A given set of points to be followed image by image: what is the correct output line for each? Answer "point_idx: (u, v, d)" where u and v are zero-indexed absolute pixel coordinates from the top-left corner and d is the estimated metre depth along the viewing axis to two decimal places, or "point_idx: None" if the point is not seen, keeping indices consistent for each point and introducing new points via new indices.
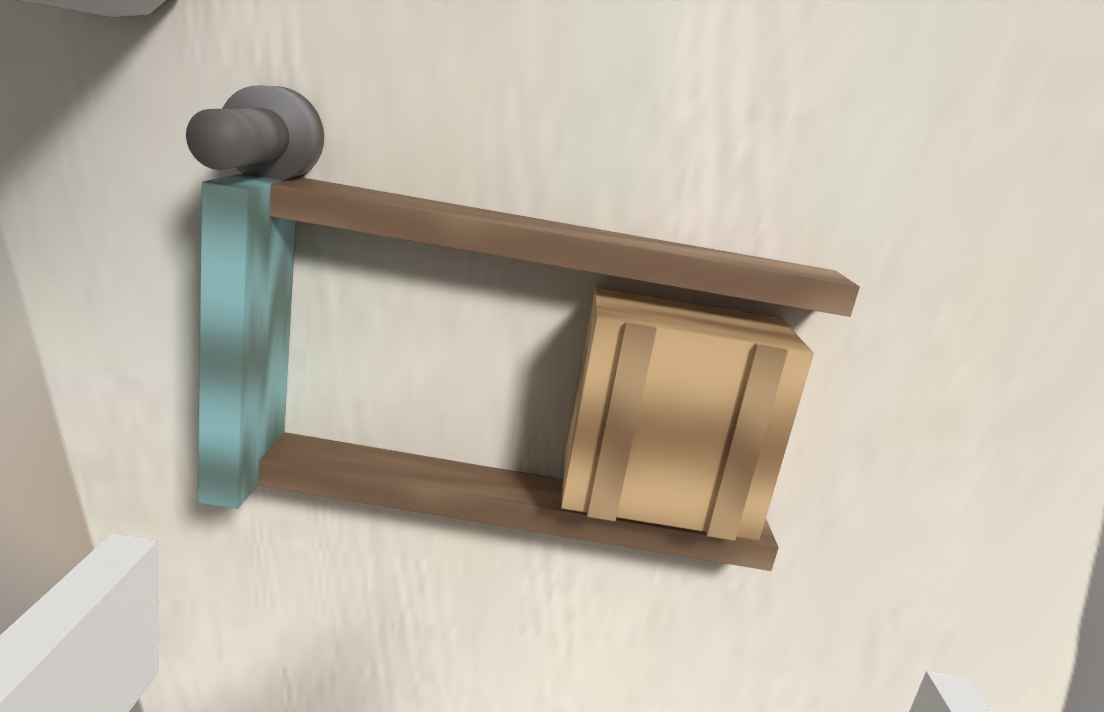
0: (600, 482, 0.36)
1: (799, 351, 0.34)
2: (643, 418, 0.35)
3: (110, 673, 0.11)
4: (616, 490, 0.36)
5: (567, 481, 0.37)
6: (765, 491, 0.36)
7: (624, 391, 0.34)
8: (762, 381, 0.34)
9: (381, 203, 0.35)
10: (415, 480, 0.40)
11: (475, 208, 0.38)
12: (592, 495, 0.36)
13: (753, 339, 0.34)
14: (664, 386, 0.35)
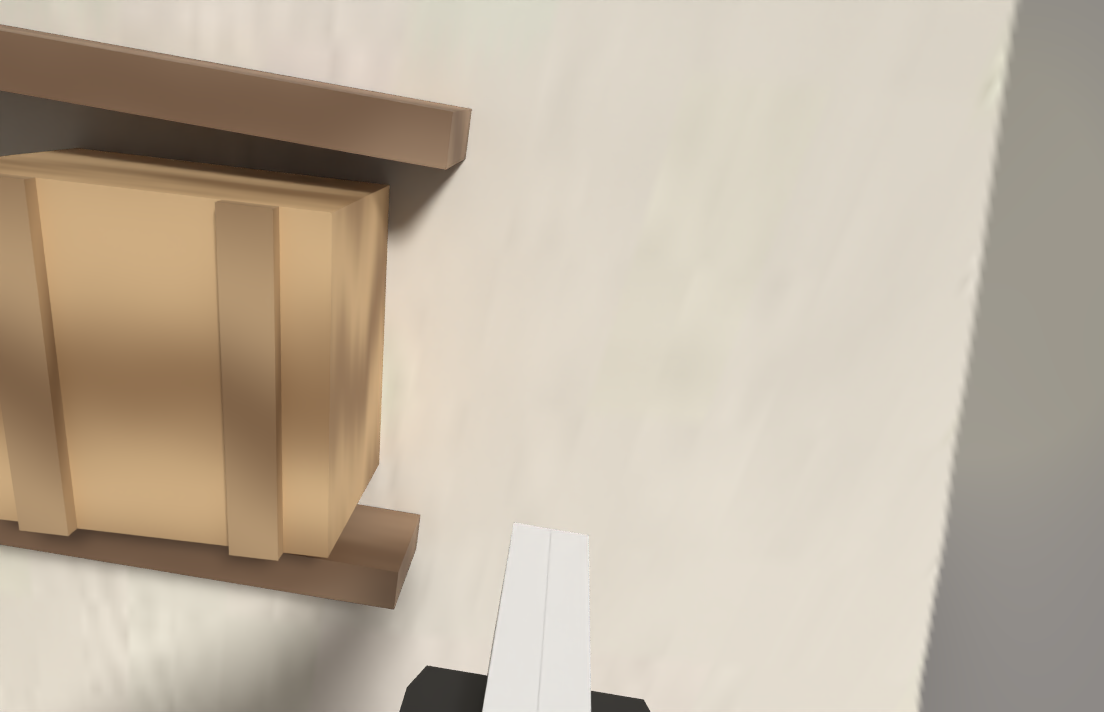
0: (21, 470, 0.21)
1: (306, 211, 0.18)
2: (68, 353, 0.20)
3: None
4: (52, 483, 0.21)
5: None
6: (315, 473, 0.21)
7: (6, 303, 0.19)
8: (243, 270, 0.18)
9: None
10: None
11: None
12: (15, 493, 0.21)
13: (235, 196, 0.19)
14: (86, 292, 0.19)
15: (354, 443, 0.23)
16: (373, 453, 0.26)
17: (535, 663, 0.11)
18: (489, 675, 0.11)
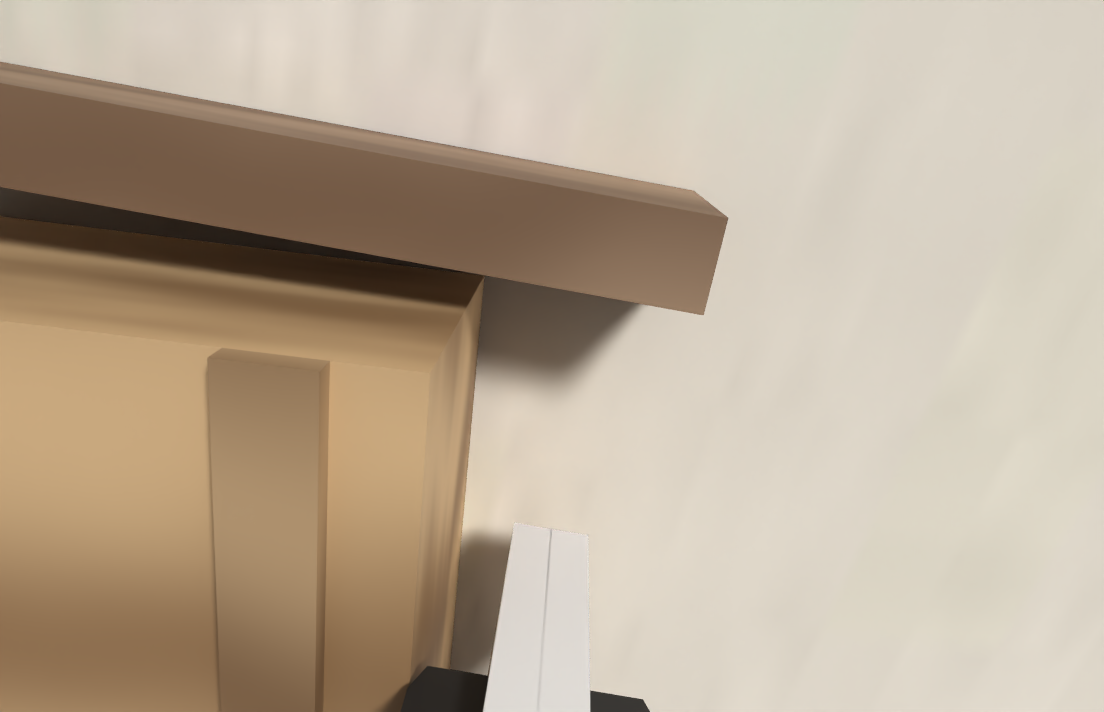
0: None
1: (381, 369, 0.10)
2: None
3: None
4: None
5: None
6: None
7: None
8: (260, 479, 0.10)
9: None
10: None
11: None
12: None
13: (246, 334, 0.10)
14: None
15: None
16: (446, 666, 0.17)
17: (535, 663, 0.11)
18: (490, 675, 0.11)
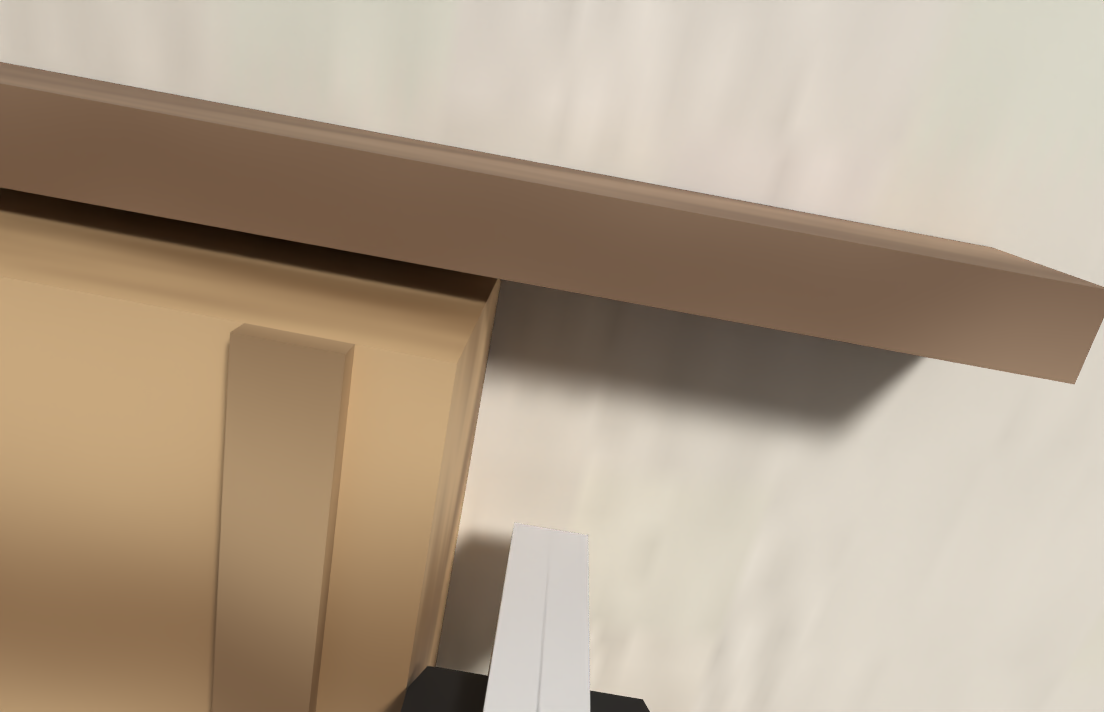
0: None
1: (406, 356, 0.09)
2: None
3: None
4: None
5: None
6: None
7: None
8: (274, 460, 0.09)
9: None
10: None
11: (6, 64, 0.14)
12: None
13: (268, 310, 0.10)
14: None
15: None
16: (433, 661, 0.17)
17: (534, 663, 0.11)
18: (490, 675, 0.11)
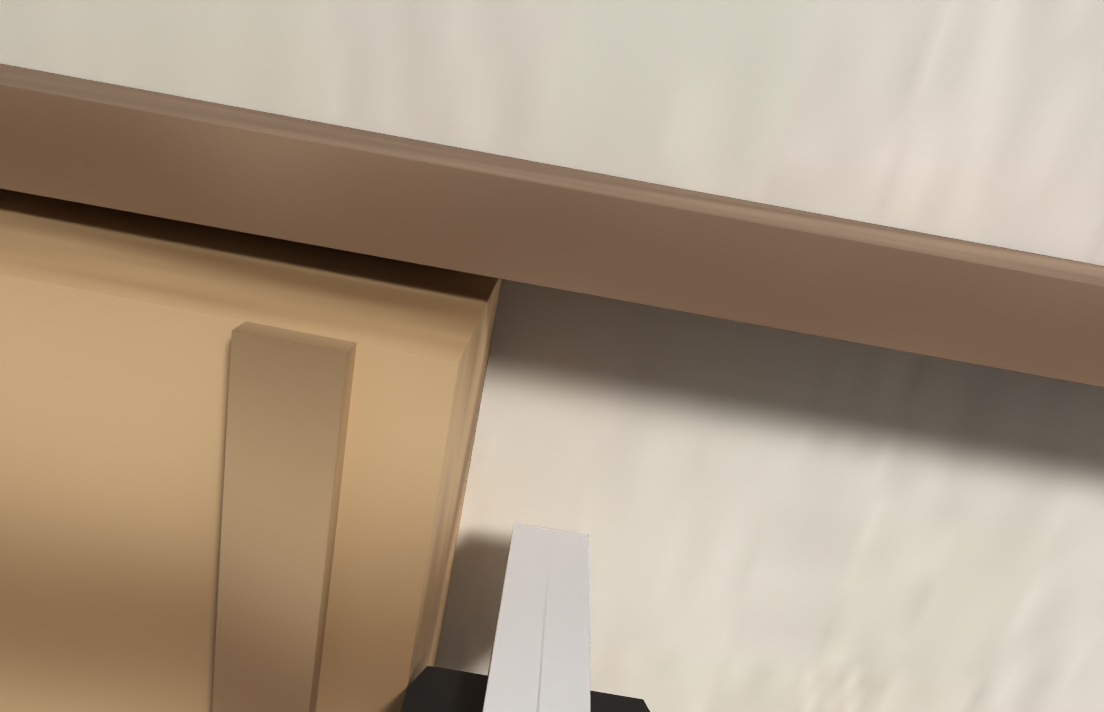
0: None
1: (408, 355, 0.09)
2: None
3: None
4: None
5: None
6: None
7: None
8: (275, 459, 0.09)
9: (1, 85, 0.11)
10: None
11: (344, 127, 0.14)
12: None
13: (269, 309, 0.10)
14: None
15: None
16: (433, 661, 0.17)
17: (535, 663, 0.11)
18: (490, 675, 0.11)
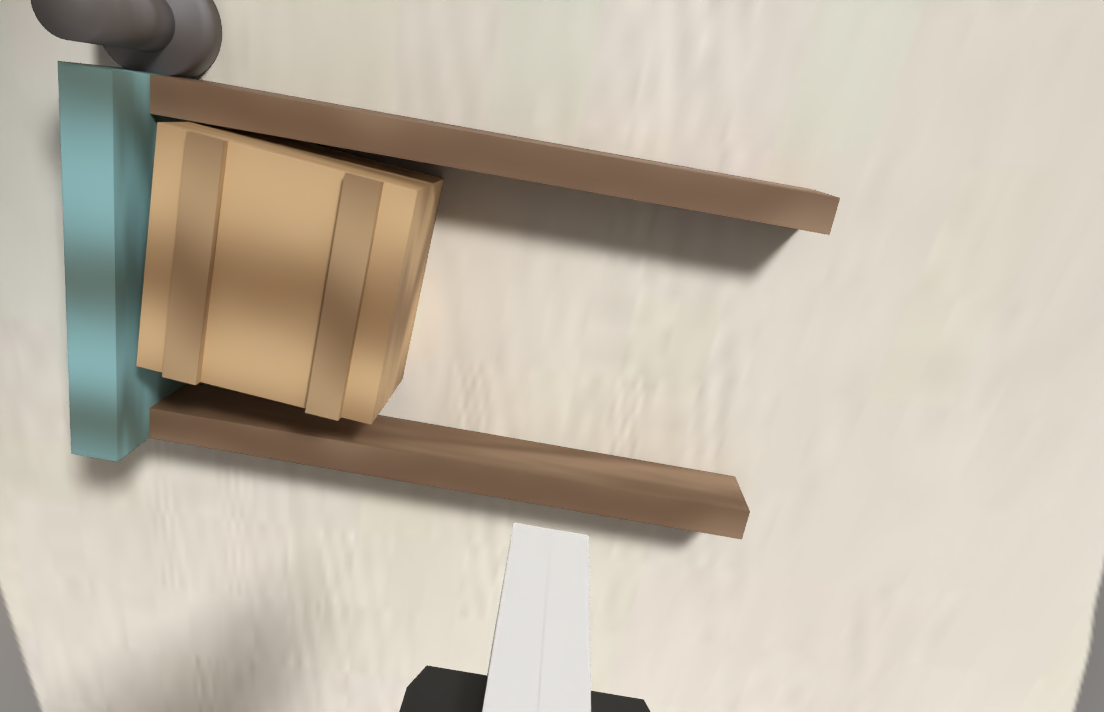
0: (173, 334, 0.30)
1: (400, 187, 0.28)
2: (223, 258, 0.29)
3: None
4: (193, 346, 0.30)
5: (140, 332, 0.31)
6: (373, 363, 0.31)
7: (192, 219, 0.29)
8: (354, 219, 0.28)
9: (280, 98, 0.30)
10: (331, 433, 0.35)
11: (398, 115, 0.33)
12: (165, 350, 0.30)
13: (354, 171, 0.29)
14: (244, 219, 0.29)
15: (395, 353, 0.33)
16: (401, 368, 0.36)
17: (535, 663, 0.11)
18: (489, 675, 0.11)
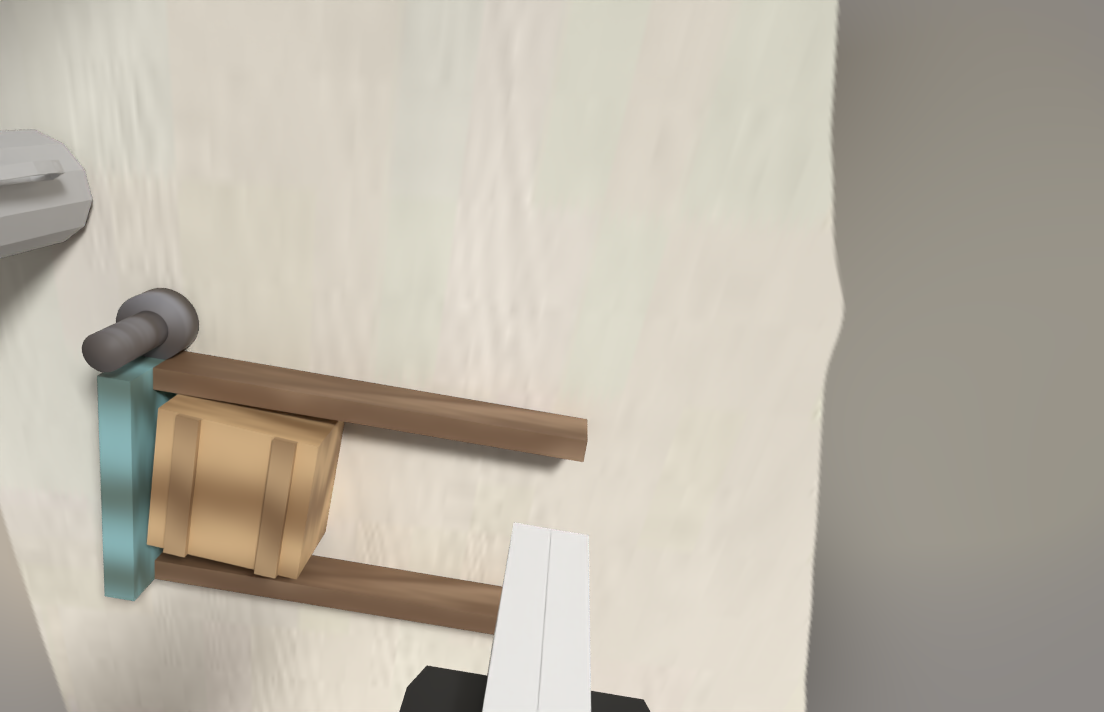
0: (170, 528, 0.48)
1: (308, 444, 0.46)
2: (200, 483, 0.47)
3: None
4: (182, 534, 0.48)
5: (149, 524, 0.48)
6: (296, 543, 0.48)
7: (180, 463, 0.46)
8: (279, 464, 0.46)
9: (234, 381, 0.47)
10: None
11: (314, 374, 0.50)
12: (165, 537, 0.48)
13: (280, 432, 0.47)
14: (213, 462, 0.47)
15: (314, 527, 0.51)
16: (323, 528, 0.54)
17: (535, 663, 0.11)
18: (489, 675, 0.11)
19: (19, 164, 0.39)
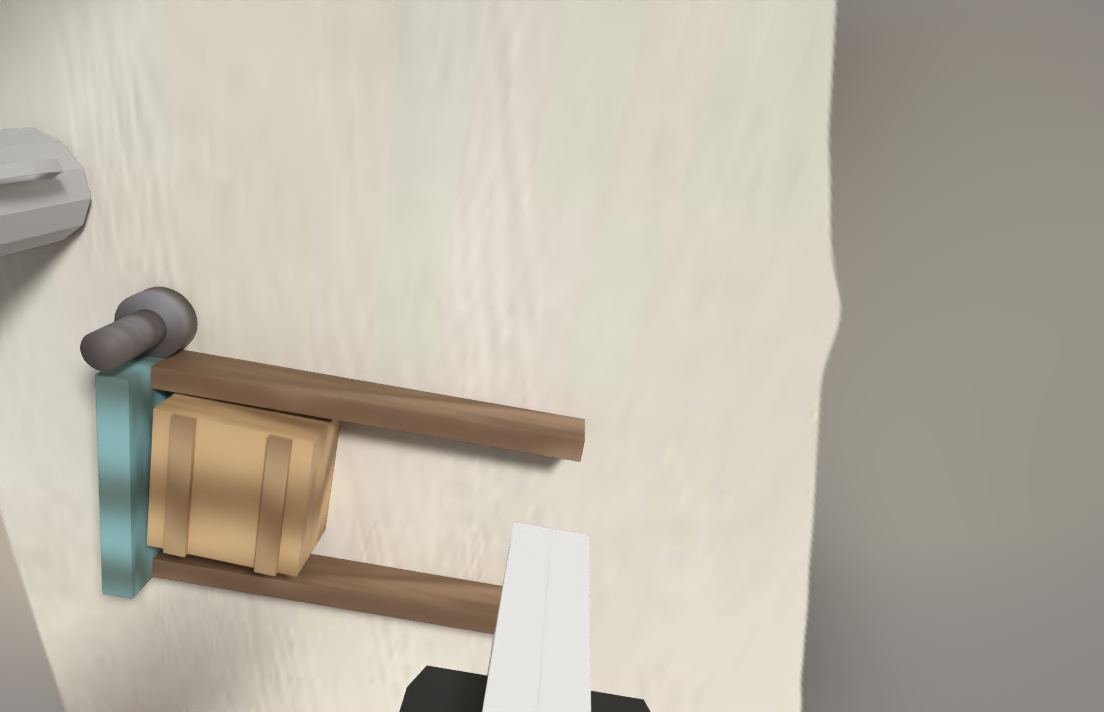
0: (169, 528, 0.48)
1: (303, 441, 0.46)
2: (197, 483, 0.47)
3: None
4: (181, 534, 0.48)
5: (148, 525, 0.49)
6: (295, 541, 0.48)
7: (177, 463, 0.46)
8: (275, 462, 0.46)
9: (232, 380, 0.47)
10: None
11: (312, 373, 0.51)
12: (164, 537, 0.48)
13: (275, 429, 0.47)
14: (209, 460, 0.47)
15: (313, 525, 0.51)
16: (322, 525, 0.54)
17: (535, 663, 0.11)
18: (489, 675, 0.11)
19: (18, 163, 0.39)
